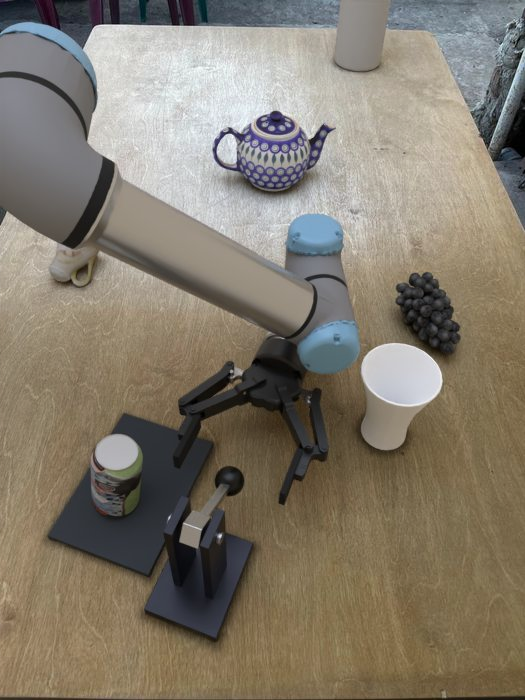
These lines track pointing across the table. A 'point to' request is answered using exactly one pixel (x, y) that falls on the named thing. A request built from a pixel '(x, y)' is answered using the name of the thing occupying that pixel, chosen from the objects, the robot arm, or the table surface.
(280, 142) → the teapot
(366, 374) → the cup
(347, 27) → the cylinder vase
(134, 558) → the slate mat
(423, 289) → the fruit
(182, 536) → the tap lever
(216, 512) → the bracket
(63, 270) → the mug
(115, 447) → the beverage can
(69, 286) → the table surface
